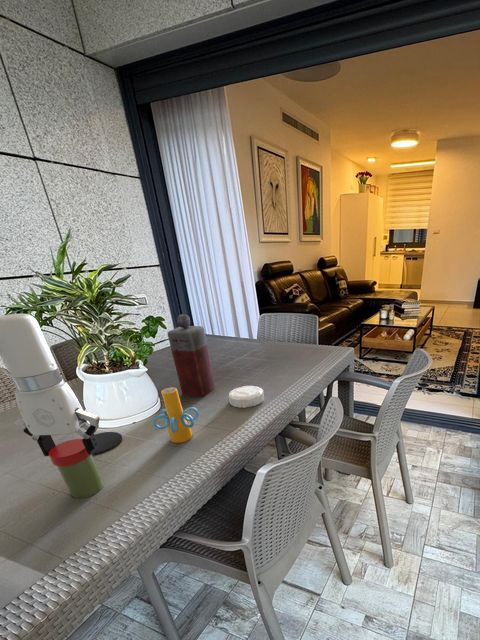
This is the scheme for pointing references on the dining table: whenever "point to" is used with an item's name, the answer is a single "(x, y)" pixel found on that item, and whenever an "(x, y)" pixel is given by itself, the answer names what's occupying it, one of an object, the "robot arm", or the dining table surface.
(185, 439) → the cylinder
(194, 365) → the red square decanter
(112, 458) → the dining table surface
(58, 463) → the jar lid
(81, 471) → the jar
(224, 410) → the dining table surface
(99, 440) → the coaster
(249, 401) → the mooncake
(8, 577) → the dining table surface
